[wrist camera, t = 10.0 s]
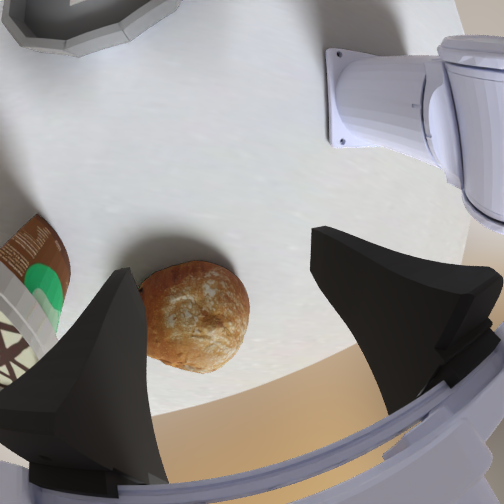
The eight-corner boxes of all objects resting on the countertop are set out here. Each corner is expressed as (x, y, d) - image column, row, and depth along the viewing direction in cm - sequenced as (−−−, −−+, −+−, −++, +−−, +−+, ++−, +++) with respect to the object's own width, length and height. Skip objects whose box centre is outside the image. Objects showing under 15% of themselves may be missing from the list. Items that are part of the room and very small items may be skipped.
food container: (61, 334, 21) (43, 422, 13) (11, 305, 18) (-23, 387, 10) (108, 238, 18) (76, 339, 10) (43, 197, 15) (-29, 275, 7)
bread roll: (215, 316, 30) (265, 362, 25) (131, 353, 24) (172, 415, 19) (217, 235, 25) (281, 277, 20) (108, 268, 19) (148, 337, 14)
